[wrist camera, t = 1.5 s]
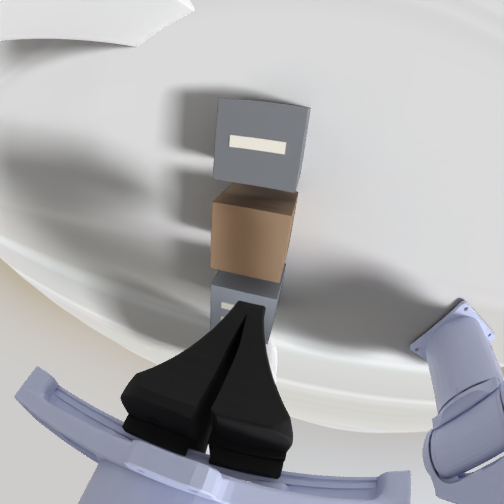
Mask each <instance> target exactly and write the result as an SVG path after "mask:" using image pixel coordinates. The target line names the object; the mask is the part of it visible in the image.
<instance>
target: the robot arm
mask: <svg viewBox="0 0 504 504" xmlns="http://www.w3.org/2000/svg"><path fill="white" fill-rule="evenodd" d="M465 307H466V308H465ZM265 310H266V308H265V307H264V306H262V305H257V304H253V303H248V302H244V301H240V300H239V301H238V302H237V303H236V304H235V305H234V307H233V308H232V309H231V310H230V311H229V313H228V314H227V315H226V316H225V317H224V318H223V319H222V320H221V321H220V322H219V323H218V324H217V325H216V326H215V327H214V328H213V329H212V330H211V331H210V332H208V333H207V334H206V335H205V336H204V337H203V338H201V339H200V340H199V341H198V342H196V343H195V344H194V345H192V346H191V347H189V348H188V349H186V350H185V351H183V352H182V353H180V354H178V355H177V356H175V357H173V358H171V359H169V360H167V361H165V362H163V363H161V364H159V365H157V366H155V367H153V368H150V369H148V370H146V371H143V372H140V373H137V374H136V375H135V376H134V377H133V378H132V380H131V381H130V382H129V383H128V385H127V387H126V388H125V390H124V391H123V393H122V395H121V401H122V403H123V405H124V407H125V409H126V410H127V412H128V413H129V415H128V416H127V418H126V420H125V422H122V421H120V420H119V419H116V418H114V417H112V416H111V415H108V414H107V413H105V412H103V411H101V410H99V409H97V408H95V407H94V406H92V405H90V404H88V403H87V402H85V401H83V400H81V399H80V398H78V397H76V396H75V395H73V394H72V393H70V392H68V391H67V390H65V389H64V388H62V387H61V386H59V385H58V383H57V381H56V380H55V379H54V378H53V377H52V376H51V375H50V374H49V373H47V372H46V371H44V370H43V369H41V368H40V367H38V366H37V367H36V368H35V370H34V371H33V372H32V373H31V375H30V376H29V377H28V379H27V380H26V381H25V383H24V384H23V385H22V387H21V388H20V390H19V391H18V392H17V393H16V395H15V398H16V400H18V402H19V403H20V404H21V405H22V406H23V407H24V408H25V409H26V410H27V411H28V412H29V413H30V414H31V415H32V416H33V417H34V418H35V419H36V420H37V421H39V422H40V423H41V424H42V425H44V426H45V427H46V428H48V429H49V430H50V431H52V432H53V433H54V434H56V435H57V436H58V437H60V438H61V439H62V440H64V441H65V442H66V443H68V444H69V445H71V446H72V447H74V448H75V449H77V450H78V451H80V452H81V453H83V454H84V455H86V456H87V457H89V458H90V459H92V460H94V461H96V462H97V463H99V464H98V466H97V468H96V470H95V472H94V474H93V476H92V478H91V480H90V481H89V483H88V485H87V487H86V489H85V491H84V493H83V495H82V497H81V499H80V501H79V503H78V504H410V495H411V472H410V471H409V470H408V471H394V472H386V473H384V474H381V475H380V476H379V477H335V476H321V475H309V474H300V473H292V472H285V471H282V467H283V462H284V461H285V457H286V452H287V451H288V450H289V448H290V447H291V446H292V442H293V432H292V425H291V420H290V416H289V414H288V412H287V410H286V408H285V406H284V404H283V402H282V400H281V397H280V395H279V392H278V390H277V387H276V384H275V381H274V379H273V375H272V372H271V368H270V364H269V360H268V355H267V350H266V343H265V333H264V316H265ZM494 338H495V334H494V332H493V331H492V330H491V329H490V328H489V326H488V325H487V324H486V323H485V322H484V321H483V320H482V318H481V317H480V316H479V315H478V314H477V313H476V312H475V311H474V309H473V308H472V307H471V306H470V305H469V304H468V303H467V302H466V301H462V302H460V303H459V304H458V305H457V306H456V307H455V308H454V309H453V310H452V311H451V312H450V313H448V314H447V315H446V316H445V317H444V318H443V319H442V320H440V321H439V322H438V323H437V324H436V325H434V326H433V327H432V328H431V329H430V330H428V331H427V332H426V333H425V334H423V335H422V336H421V337H420V338H418V339H417V340H416V341H415V342H413V343H412V344H411V345H410V350H411V351H413V352H414V353H416V354H417V355H419V356H420V357H422V358H423V359H425V360H426V361H428V365H429V370H430V374H431V379H432V384H433V389H434V394H435V399H436V405H437V411H438V415H437V416H436V417H434V418H433V419H432V422H433V428H432V429H431V430H430V431H429V432H428V433H427V435H426V438H425V441H424V446H423V461H424V465H425V468H426V470H427V472H428V474H429V475H430V476H431V479H432V481H433V484H434V488H435V492H436V496H437V497H439V498H441V499H444V500H446V501H450V502H452V503H456V504H504V456H503V457H501V458H499V459H498V460H496V461H494V462H492V463H490V464H488V465H487V466H485V467H483V468H481V469H479V470H477V471H475V472H472V473H464V472H466V471H469V470H471V469H472V468H475V467H477V466H478V465H481V464H482V463H484V462H486V461H488V460H490V459H492V458H493V457H495V456H497V455H499V454H500V453H502V452H504V377H503V374H502V371H501V368H500V365H499V363H498V360H497V358H496V355H495V353H494V350H493V348H492V346H491V343H490V342H491V341H492V340H493V339H494ZM208 444H209V453H210V455H208V454H206V450H207V447H208ZM244 480H245V481H244ZM247 481H250V482H247ZM251 482H252V483H251Z"/></svg>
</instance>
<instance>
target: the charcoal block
mask: <svg viewBox="0 0 504 504" xmlns="http://www.w3.org/2000/svg"><path fill="white" fill-rule="evenodd" d="M309 115H310V108H307V107H301V106H295V105H288V104H281V103H273V102H264V101H255V100H244V99H229V98H219V100H218V111H217V123H216V136H215V150H214V166H213V179H215V180H222V181H228V182H235V183H241V184H248V185H254V186H260V187H265V188H271V189H277V190H282V191H287V192H293V193H295V191H296V187H297V184H298V180H299V177H300V174H301V167H302V161H303V155H304V149H305V142H306V135H307V129H308V122H309Z"/></svg>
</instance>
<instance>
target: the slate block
mask: <svg viewBox="0 0 504 504" xmlns="http://www.w3.org/2000/svg"><path fill="white" fill-rule="evenodd" d="M285 266H286V264H284V267H283V271H282V275H281V279H280V283H276V282H272V281H267V280H262V279H258V278H253V277H249V276H244V275H240V274H235V273H231V272H226V271H222V270H219V272H218V273H217V275H216V277H215V278H214V280H213V282H212V283H211V313H210V330H212V329H213V328H214V327H215V326H216V325H217V324H218V323H219V322H220V321H221V320H222V319H223V318H224V317H225V316H226V315H227V314H228V313H229V311H230V310H231V309H232V308H233V307H234V305H235V304H236V303H237V302H238V301H239V300H240V301H244V302H248V303H253V304H257V305H262V306H264V307H265V308H266V310H265V316H264V333H265V343H266V344H268V341H269V337H270V333H271V329H272V325H273V321H274V317H275V313H276V309H277V305H278V300H279V296H280V291H281V286H282V281H283V276H284V271H285Z"/></svg>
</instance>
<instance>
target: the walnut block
mask: <svg viewBox="0 0 504 504" xmlns="http://www.w3.org/2000/svg"><path fill="white" fill-rule="evenodd" d="M297 197H298V192H295V193H293V192H287V191H282V190H277V189H271V188H265V187H260V186H254V185H248V184H241V183H235V182H233V183H232V184H231V185H230V186H229V187H228V188H227V189H226V190H225V191H224V192H222V193H221V194H220V195H219V196H218V197H217V198H216V199H215V200H214V201H213V202H212V226H211V258H210V268H213V269H218V270H222V271H226V272H231V273H235V274H240V275H244V276H249V277H253V278H258V279H262V280H267V281H272V282H276V283H280V279H281V275H282V271H283V267H284V263H285V259H286V255H287V251H288V247H289V241H290V236H291V231H292V225H293V220H294V214H295V208H296V203H297Z"/></svg>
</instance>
